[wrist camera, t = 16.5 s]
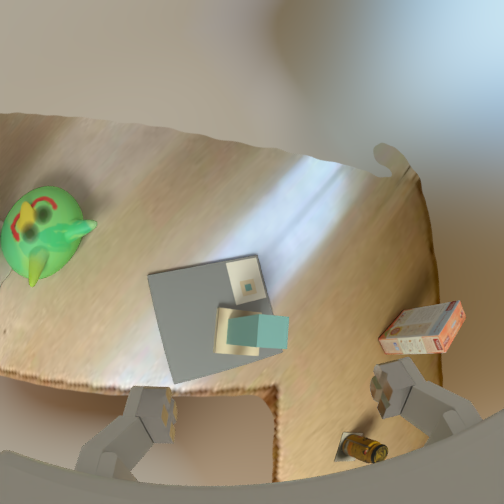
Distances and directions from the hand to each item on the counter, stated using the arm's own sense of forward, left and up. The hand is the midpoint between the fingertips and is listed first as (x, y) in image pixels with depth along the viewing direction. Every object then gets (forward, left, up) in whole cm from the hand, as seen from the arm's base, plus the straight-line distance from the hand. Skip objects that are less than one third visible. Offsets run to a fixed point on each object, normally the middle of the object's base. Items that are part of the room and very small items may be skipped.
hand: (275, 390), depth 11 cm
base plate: (+12, +3, -51) cm, 52 cm away
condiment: (+36, -40, -51) cm, 74 cm away
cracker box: (+60, -15, -51) cm, 80 cm away
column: (+15, -1, -48) cm, 50 cm away
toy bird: (-20, +24, -51) cm, 60 cm away
